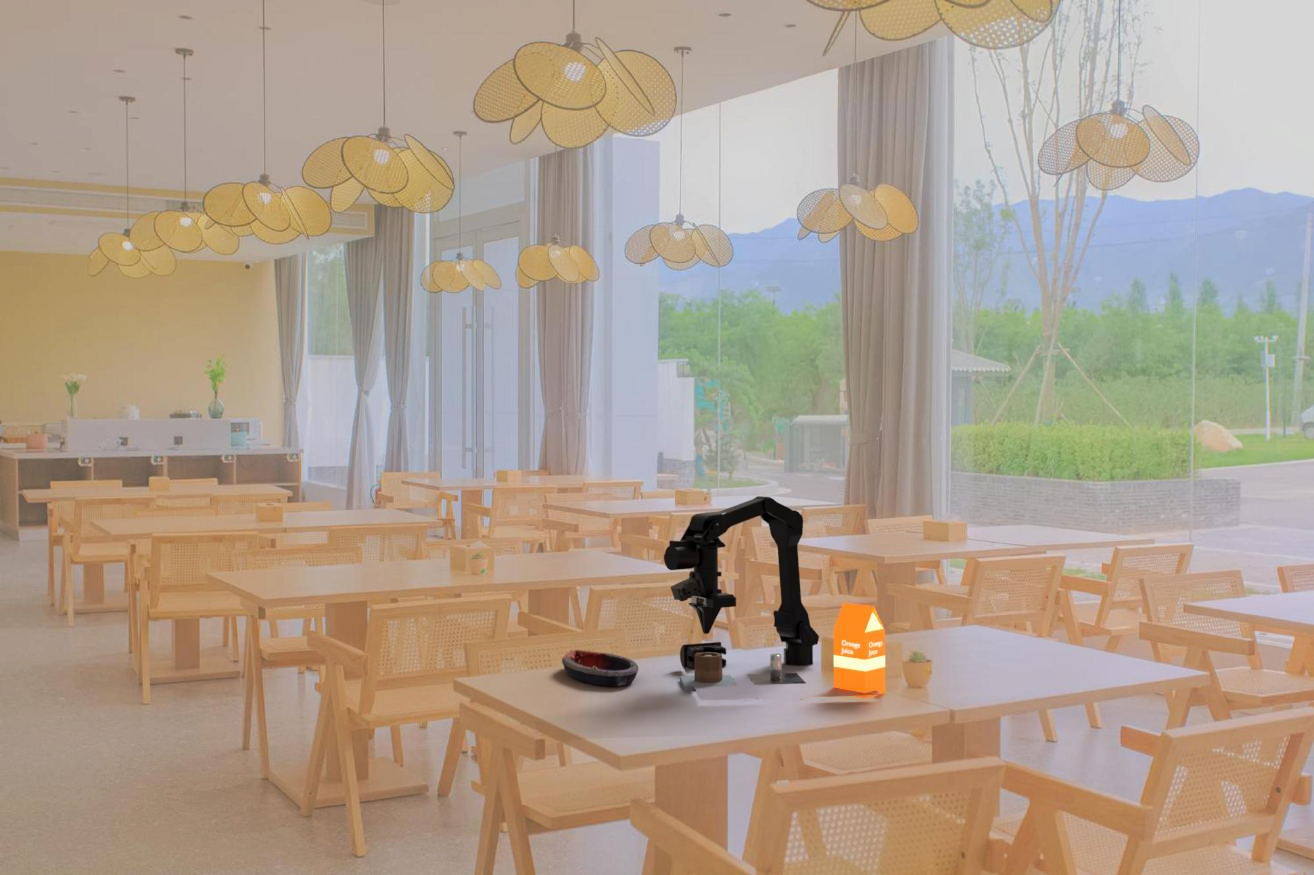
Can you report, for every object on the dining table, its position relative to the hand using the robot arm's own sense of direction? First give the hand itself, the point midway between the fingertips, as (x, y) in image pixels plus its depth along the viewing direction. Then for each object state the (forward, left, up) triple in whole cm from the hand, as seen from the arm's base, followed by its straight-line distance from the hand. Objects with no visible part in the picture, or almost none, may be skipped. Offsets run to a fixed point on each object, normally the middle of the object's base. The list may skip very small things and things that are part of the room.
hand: (706, 633), depth 294 cm
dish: (+25, -11, -12) cm, 30 cm away
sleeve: (0, +2, -11) cm, 11 cm away
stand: (-16, +2, -12) cm, 20 cm away
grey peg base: (0, +2, -12) cm, 12 cm away
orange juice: (-33, +14, -12) cm, 38 cm away
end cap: (-1, -16, -12) cm, 20 cm away
